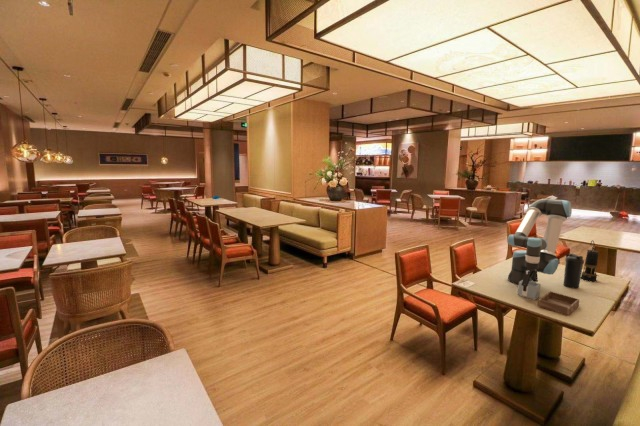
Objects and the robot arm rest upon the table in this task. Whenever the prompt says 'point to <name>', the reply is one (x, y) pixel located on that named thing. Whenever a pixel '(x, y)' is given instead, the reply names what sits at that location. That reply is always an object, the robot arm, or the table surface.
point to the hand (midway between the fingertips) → (528, 293)
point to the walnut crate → (558, 303)
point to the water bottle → (573, 271)
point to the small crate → (530, 290)
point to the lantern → (590, 265)
